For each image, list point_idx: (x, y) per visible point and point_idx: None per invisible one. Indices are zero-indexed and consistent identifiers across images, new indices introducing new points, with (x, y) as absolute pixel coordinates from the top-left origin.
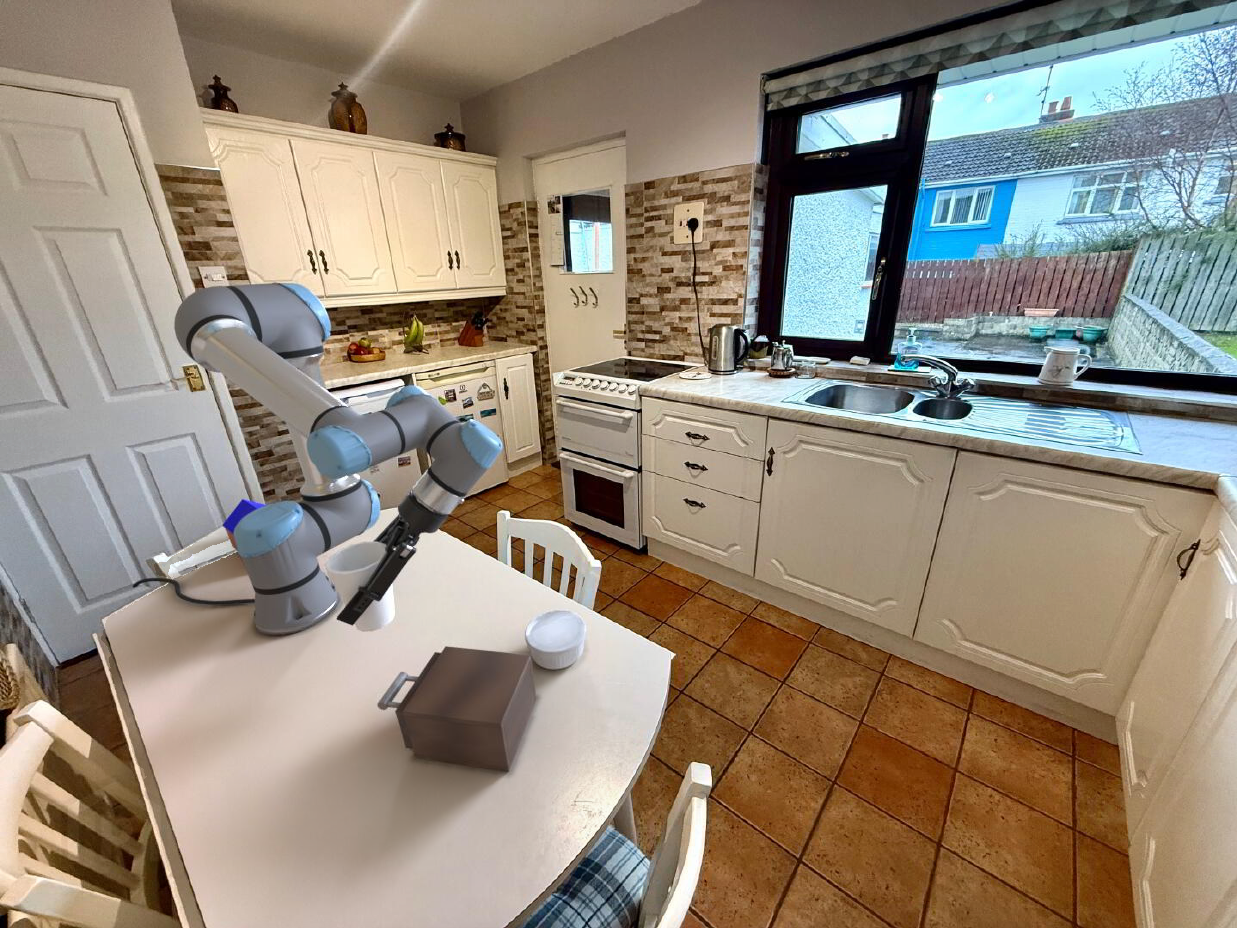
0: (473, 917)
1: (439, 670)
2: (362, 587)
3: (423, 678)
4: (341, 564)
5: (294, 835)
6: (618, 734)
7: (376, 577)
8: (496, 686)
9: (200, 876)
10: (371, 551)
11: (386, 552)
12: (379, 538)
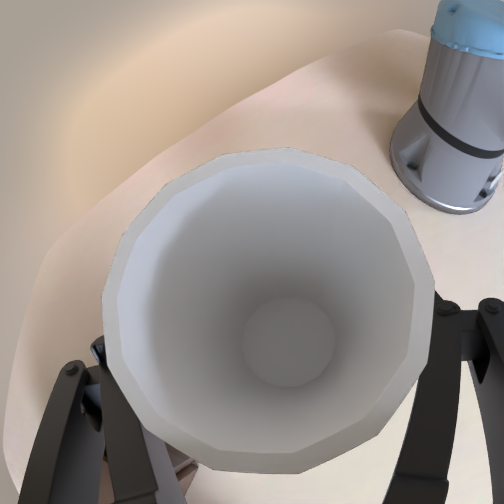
0: (3, 431)
1: (101, 475)
2: (96, 353)
3: (105, 447)
4: (316, 211)
5: (70, 294)
6: None
7: (54, 416)
8: None
9: (72, 229)
10: (391, 332)
11: (141, 493)
12: (491, 341)
